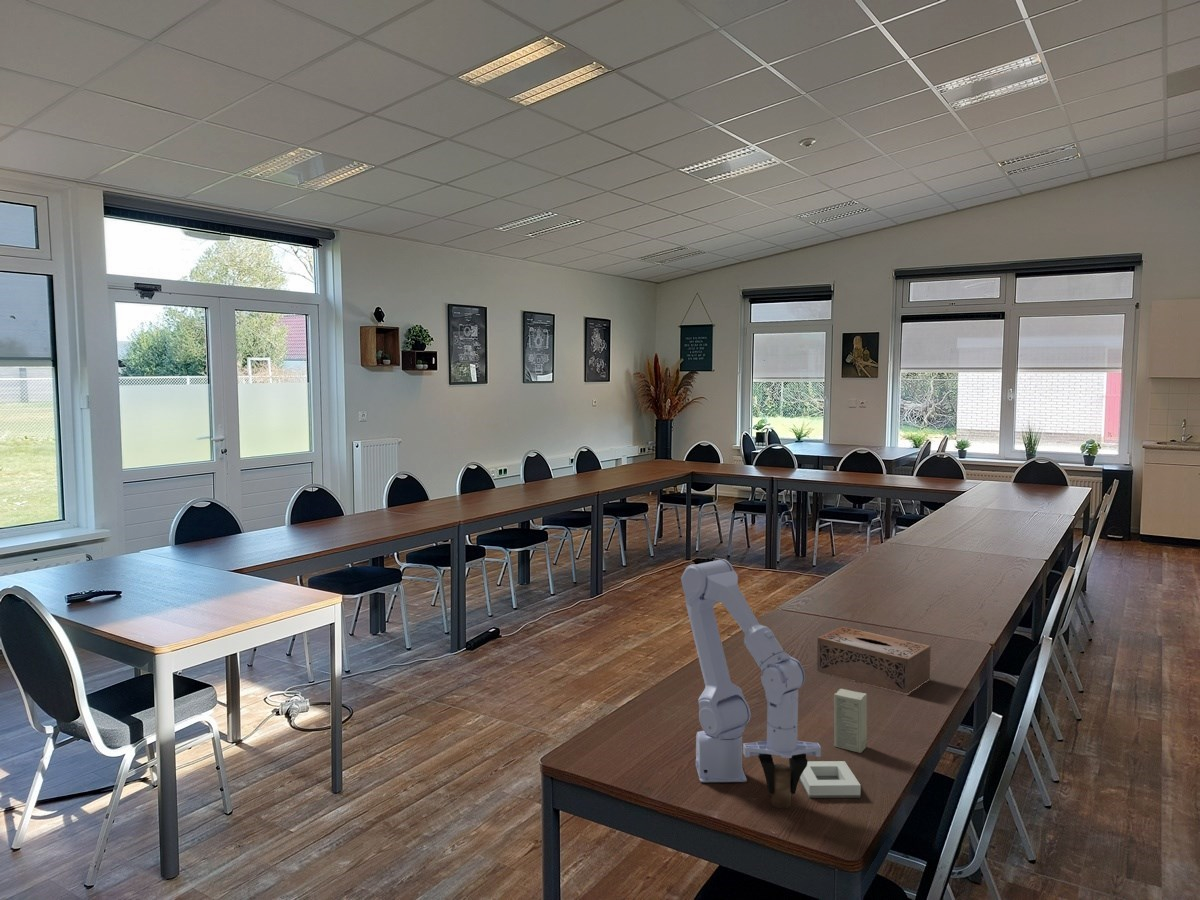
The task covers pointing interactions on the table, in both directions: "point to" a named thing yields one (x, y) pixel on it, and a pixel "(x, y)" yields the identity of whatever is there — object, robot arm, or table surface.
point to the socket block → (829, 780)
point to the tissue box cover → (873, 659)
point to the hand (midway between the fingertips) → (781, 791)
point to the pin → (781, 786)
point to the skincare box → (850, 720)
